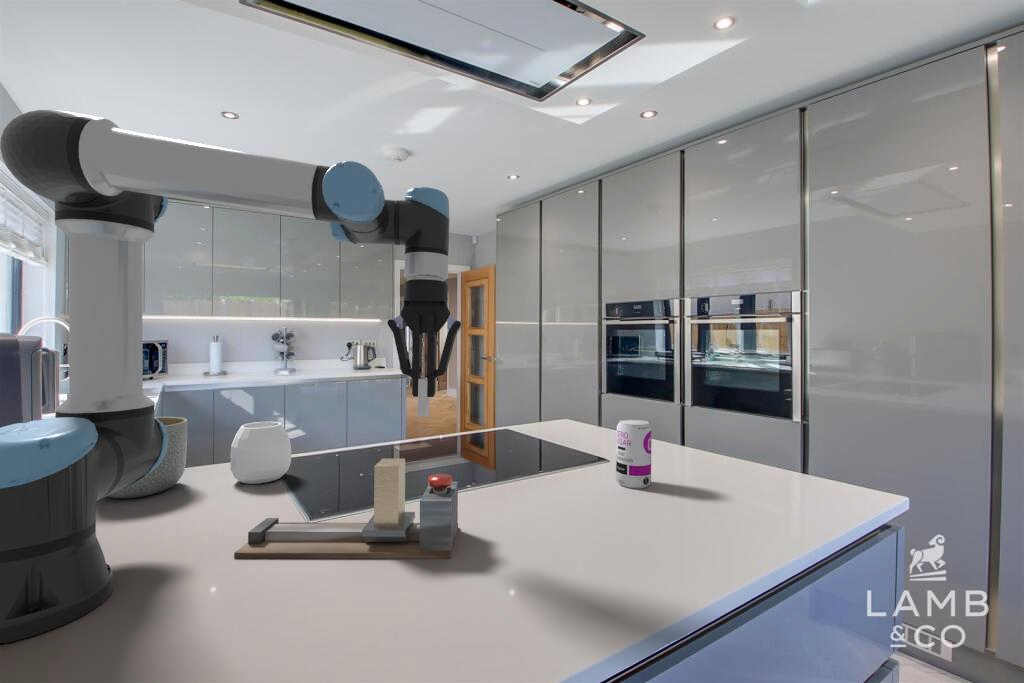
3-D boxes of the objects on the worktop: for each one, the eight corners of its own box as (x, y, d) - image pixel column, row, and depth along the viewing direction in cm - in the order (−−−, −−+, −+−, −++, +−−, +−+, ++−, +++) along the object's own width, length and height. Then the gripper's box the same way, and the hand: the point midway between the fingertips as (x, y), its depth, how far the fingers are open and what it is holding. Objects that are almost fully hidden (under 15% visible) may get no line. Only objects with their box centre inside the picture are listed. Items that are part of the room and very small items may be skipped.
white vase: (282, 468, 122) (282, 417, 122) (298, 480, 112) (298, 425, 112) (224, 478, 113) (224, 423, 113) (236, 492, 103) (237, 432, 103)
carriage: (405, 545, 75) (405, 469, 75) (361, 545, 75) (362, 468, 75) (415, 525, 83) (415, 456, 83) (376, 525, 83) (376, 456, 83)
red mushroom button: (450, 523, 77) (450, 480, 77) (426, 523, 77) (426, 480, 77) (452, 514, 81) (453, 473, 81) (430, 514, 81) (430, 473, 81)
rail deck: (449, 558, 73) (450, 503, 73) (234, 557, 73) (234, 502, 73) (458, 527, 85) (458, 479, 85) (272, 526, 85) (273, 478, 85)
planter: (158, 476, 114) (158, 414, 114) (204, 485, 108) (204, 419, 108) (72, 498, 99) (72, 426, 99) (119, 509, 92) (119, 433, 92)
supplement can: (654, 482, 113) (655, 421, 113) (645, 491, 106) (645, 426, 106) (622, 476, 117) (623, 417, 117) (611, 485, 110) (611, 422, 110)
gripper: (465, 283, 84) (463, 413, 84) (394, 282, 84) (392, 411, 84) (461, 278, 77) (458, 420, 77) (382, 276, 77) (379, 418, 77)
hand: (423, 415), depth 81 cm, fingers closed
